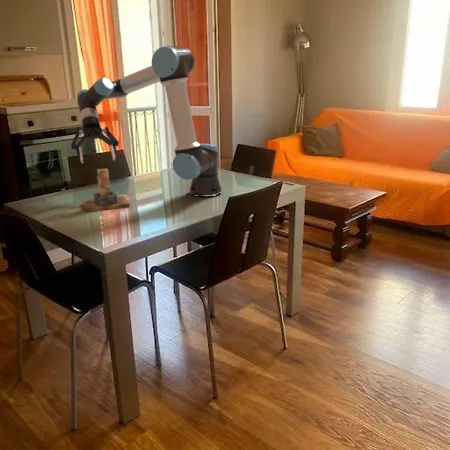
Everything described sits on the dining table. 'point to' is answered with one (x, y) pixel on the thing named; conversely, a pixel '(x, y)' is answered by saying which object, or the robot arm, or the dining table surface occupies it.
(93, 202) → the post base
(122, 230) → the dining table surface
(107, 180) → the tan tall block
